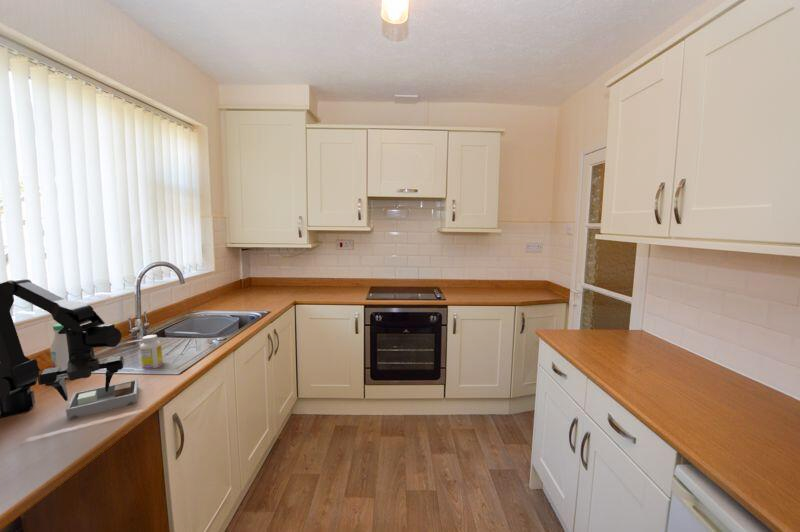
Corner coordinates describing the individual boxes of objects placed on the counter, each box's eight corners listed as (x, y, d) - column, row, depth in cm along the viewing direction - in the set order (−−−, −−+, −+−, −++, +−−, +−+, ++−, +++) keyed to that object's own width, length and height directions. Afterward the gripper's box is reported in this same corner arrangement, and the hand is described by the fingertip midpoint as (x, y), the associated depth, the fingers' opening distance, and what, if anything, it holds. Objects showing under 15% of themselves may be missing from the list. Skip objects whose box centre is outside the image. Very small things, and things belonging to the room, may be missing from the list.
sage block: (78, 411, 103) (77, 399, 103) (80, 406, 106) (79, 394, 106) (96, 407, 105) (95, 395, 105) (97, 402, 109) (96, 390, 108)
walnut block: (115, 402, 108) (114, 390, 108) (116, 397, 112) (115, 385, 111) (131, 398, 111) (130, 386, 110) (132, 393, 114) (130, 382, 113)
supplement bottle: (160, 362, 141) (157, 332, 140) (165, 367, 137) (162, 335, 135) (140, 368, 136) (136, 336, 134) (145, 372, 132) (142, 340, 130)
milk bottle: (86, 369, 135) (80, 320, 132) (76, 378, 128) (69, 326, 125) (61, 373, 132) (54, 322, 129) (49, 381, 125) (41, 328, 122)
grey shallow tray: (67, 422, 99) (65, 410, 98) (75, 403, 109) (74, 392, 109) (137, 405, 108) (135, 394, 107) (138, 388, 119) (137, 378, 118)
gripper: (28, 363, 91) (36, 418, 93) (118, 348, 102) (124, 397, 104) (39, 350, 100) (47, 400, 102) (121, 338, 111) (126, 383, 113)
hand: (87, 395), depth 105 cm, fingers open, 9 cm apart
